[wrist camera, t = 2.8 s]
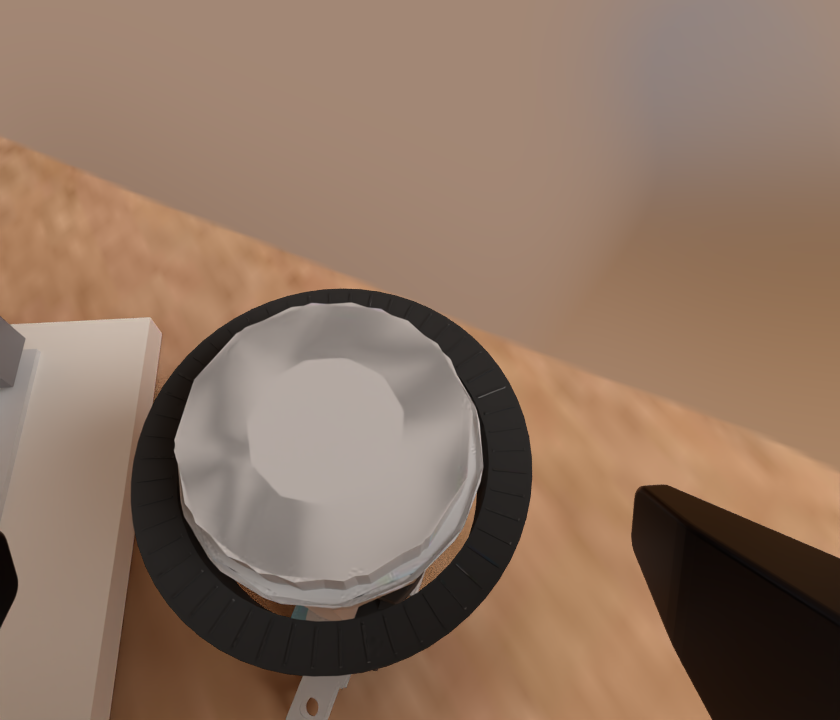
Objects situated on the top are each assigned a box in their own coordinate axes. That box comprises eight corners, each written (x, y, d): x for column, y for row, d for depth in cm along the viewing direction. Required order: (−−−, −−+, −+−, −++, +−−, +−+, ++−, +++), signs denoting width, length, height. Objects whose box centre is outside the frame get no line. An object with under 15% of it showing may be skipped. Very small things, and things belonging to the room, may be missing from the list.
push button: (410, 771, 14) (422, 942, 5) (206, 682, 15) (-94, 699, 6) (493, 502, 17) (591, 316, 8) (318, 440, 18) (232, 205, 9)
